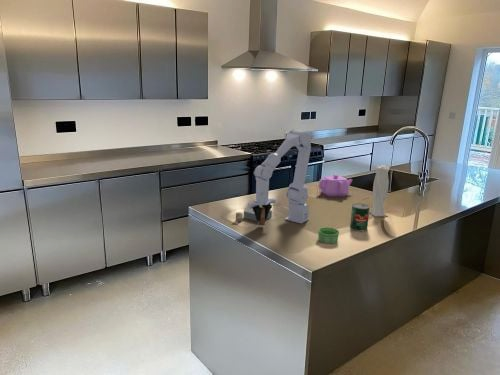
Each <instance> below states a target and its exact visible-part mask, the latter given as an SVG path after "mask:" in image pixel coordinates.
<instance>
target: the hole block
mask: <svg viewBox="0 0 500 375" xmlns="http://www.w3.org/2000/svg"><path fill="white" fill-rule="evenodd" d="M272 211H273V210H272V209H270V211H269V213H268V216H267V220H268V219H271V218H272V215H273V214H272V213H273V212H272ZM243 218H244V219H247V220H250V221H254V222H257V223H258V221H257V220H256V216H255V213H254V211H253V209H252V208H251V209H250V208H249V209H245V210H244V211H243Z"/></svg>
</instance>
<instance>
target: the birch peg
mask: <svg viewBox="0 0 500 375" xmlns="http://www.w3.org/2000/svg"><path fill="white" fill-rule="evenodd" d="M243 218H244V212H240V211H238V212H236V213H235V222H236V221H237V223H242V222H243Z"/></svg>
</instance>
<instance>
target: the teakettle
mask: <svg viewBox="0 0 500 375" xmlns="http://www.w3.org/2000/svg"><path fill="white" fill-rule="evenodd" d="M352 182H353V179H352V178H345V177H343V176H341V175H339V174H332V175H331V176H329V175H326V176H324V177H323V178H320V179H319V182H318V189H320V190H321V193H322V194H323V195H325V196H326V197H329V198H330V197H331V198H332V197H333V198H338V197H341V198H342V197H348V195H349V188H350V185H351V184H352Z"/></svg>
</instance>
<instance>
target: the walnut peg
mask: <svg viewBox="0 0 500 375" xmlns="http://www.w3.org/2000/svg"><path fill="white" fill-rule="evenodd" d="M260 208H262V210H261V215H260V221H258V222H257V225H258V226H264V225H265V224H266V220H265V207H260Z"/></svg>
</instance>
